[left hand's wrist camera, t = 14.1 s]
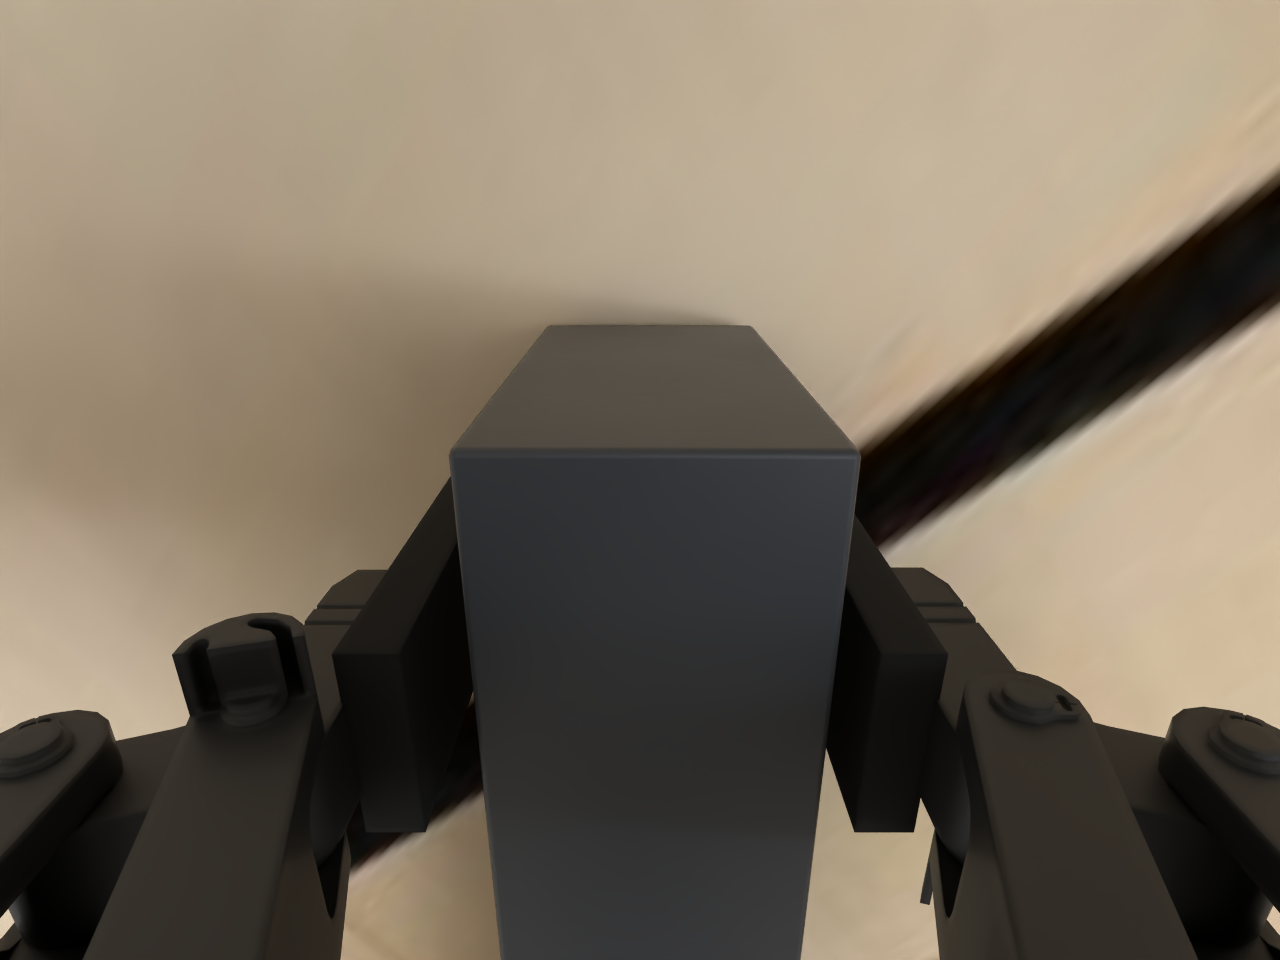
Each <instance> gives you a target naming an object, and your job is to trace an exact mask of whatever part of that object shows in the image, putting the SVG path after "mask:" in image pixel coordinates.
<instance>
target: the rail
mask: <svg viewBox="0 0 1280 960" xmlns="http://www.w3.org/2000/svg"><path fill="white" fill-rule="evenodd" d="M449 460H450V470H451V480H452V489H453V499H454V509H455V518H456V528H457V538H458V548H459V557H460V567H461V577H462V586H463V596H464V606H465V615H466V625H467V635H468V644H469V654H470V664H471V673H472V683H473V693H474V703H475V712H476V722H477V732H478V741H479V751H480V761H481V770H482V780H483V790H484V799H485V809H486V819H487V829H488V838H489V848H490V858H491V867H492V877H493V887H494V896H495V906H496V916H497V925H498V935H499V945H500V955H501V960H800V959H801V951H802V942H803V934H804V926H805V917H806V909H807V901H808V892H809V884H810V876H811V867H812V859H813V851H814V842H815V834H816V826H817V818H818V809H819V801H820V793H821V784H822V776H823V768H824V759H825V751H826V743H827V734H828V726H829V718H830V709H831V701H832V693H833V685H834V676H835V668H836V660H837V651H838V643H839V635H840V626H841V618H842V610H843V601H844V593H845V585H846V576H847V568H848V560H849V552H850V543H851V535H852V527H853V518H854V510H855V502H856V493H857V485H858V477H859V468H860V460H861V456H860V452H859V450H858V449H857V448H856V447H855V445H854V444H853V443H852V442H851V441H850V440H849V439H848V437H847V436H846V435H845V434H844V433H843V432H842V430H841V429H840V428H839V427H838V426H837V425H836V424H835V422H834V421H833V420H832V419H831V418H830V417H829V415H828V414H827V413H826V412H825V411H824V410H823V408H822V407H821V406H820V405H819V404H818V403H817V402H816V400H815V399H814V398H813V397H812V396H811V395H810V393H809V392H808V391H807V390H806V389H805V388H804V387H803V385H802V384H801V383H800V382H799V381H798V380H797V378H796V377H795V376H794V375H793V374H792V373H791V371H790V370H789V369H788V368H787V367H786V366H785V365H784V363H783V362H782V361H781V360H780V359H779V358H778V356H777V355H776V354H775V353H774V352H773V351H772V350H771V348H770V347H769V346H768V345H767V344H766V343H765V341H764V340H763V339H762V338H761V337H760V336H759V334H758V333H757V332H756V331H755V330H754V329H753V328H752V327H751V326H587V325H551V326H548V327H547V328H546V329H545V331H544V332H543V333H542V334H541V336H540V337H539V338H538V339H537V341H536V342H535V343H534V345H533V346H532V347H531V348H530V350H529V351H528V352H527V354H526V355H525V356H524V357H523V359H522V360H521V361H520V362H519V364H518V365H517V366H516V368H515V369H514V370H513V371H512V373H511V374H510V375H509V376H508V378H507V379H506V380H505V382H504V383H503V384H502V385H501V387H500V388H499V389H498V390H497V392H496V393H495V394H494V396H493V397H492V398H491V399H490V401H489V402H488V403H487V405H486V406H485V407H484V408H483V410H482V411H481V412H480V413H479V415H478V416H477V417H476V419H475V420H474V421H473V422H472V424H471V425H470V426H469V427H468V429H467V430H466V431H465V433H464V434H463V435H462V436H461V438H460V439H459V440H458V441H457V443H456V444H455V445H454V447H453V448H452V449H451V451H450V454H449Z"/></svg>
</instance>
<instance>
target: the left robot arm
mask: <svg viewBox="0 0 1280 960" xmlns="http://www.w3.org/2000/svg"><path fill="white" fill-rule="evenodd" d="M172 657H173V660H174V663H175V667H176V670H177V674H178V677H179V680H180V684H181V687H182V690H183V694H184V697H185V701H186V704H187V707H188V711H189V714H190V717H189V720H188V722H187V724H186V726H183V727H179V728H175V729H171V730H167V731H162V732H157V733H152V734H147V735H143V736H138V737H133V738H128V739H123V740H119V741H116V740H115V737H114V735H113V732H112V729H111V726H110V723H109V720H107V719H106V718H105V717H103V716H102V715H100V714H99V713H98V712H91V711H83V710H73V711H66V712H59V713H52V714H48V715H43V716H39V717H38V718H36V719H35V718H33V719H30V720H27V721H25V722H22V723H20V724H18V725H16V726H15V727H13V728H11V729H9V730H7V731H4V732H2V733H0V918H1V917H2V915H3V914H4V913H5V912H6V911H7V910H8V909H9V911H10V913H11V915H12V917H13V919H14V922H15V923H14V924H13V925H12V926H11V927H10V929H9V930H8V931H7V932H6V934H5V935H4V936H3V937H2V938H1V939H0V960H340V958H341V948H342V939H343V929H344V920H345V910H346V900H347V891H348V881H349V872H350V862H351V857H350V850H349V844H348V839H347V834H346V829H347V826H348V824H349V822H350V820H351V818H352V816H353V814H354V811H355V809H356V807H357V805H358V803H359V801H360V803H361V808H362V813H363V818H364V824H365V829H366V832H426V829H427V826H428V823H429V820H430V817H431V814H432V811H433V808H434V805H435V802H436V799H437V796H438V793H439V790H440V787H441V784H442V782H443V779H444V776H445V773H446V770H447V767H448V764H449V761H450V758H451V755H452V752H453V749H454V746H455V743H456V740H457V737H458V734H459V731H460V728H461V725H462V722H463V719H464V716H465V713H466V710H467V707H468V704H469V701H470V698H471V695H472V692H473V683H472V673H471V664H470V654H469V644H468V635H467V625H466V615H465V606H464V596H463V586H462V577H461V567H460V557H459V548H458V538H457V528H456V518H455V509H454V499H453V489H452V480H451V477H450V478H449V480H448V481H447V483H446V484H445V486H444V487H443V488H442V490H441V491H440V493H439V494H438V496H437V497H436V499H435V500H434V502H433V503H432V505H431V506H430V508H429V509H428V511H427V512H426V514H425V515H424V517H423V518H422V520H421V521H420V523H419V524H418V526H417V527H416V529H415V530H414V532H413V533H412V535H411V536H410V538H409V539H408V541H407V542H406V544H405V545H404V547H403V548H402V550H401V551H400V553H399V554H398V556H397V557H396V559H395V560H394V562H393V563H392V565H391V566H390V568H389V569H388V570H357V571H355V572H354V573H352V574H351V575H349V576H347V577H346V578H344V579H343V580H341V581H340V582H338V583H337V584H335V585H333V586H332V587H331V588H330V590H329V591H328V592H327V594H326V595H325V596H324V597H323V599H322V600H321V601H320V602H319V604H318V605H317V609H314V610H313V611H312V613H311V614H310V615H309V617H308V618H307V619H306V620H305V625H303V624H302V623H301V622H299V621H298V620H297V619H295V618H294V617H293V616H289V615H284V614H279V613H252V614H248V615H243V616H239V617H234V618H230V619H226V620H224V621H221V622H219V623H216V624H214V625H211V626H209V627H206V628H204V629H202V630H201V631H199V632H198V633H196V634H194V635H193V636H191V637H190V638H188V639H187V640H185V641H184V642H183V643H182V644H181V645H180V646H179V647H178V649H177V650H176V651H175V652H174V653H173V654H172ZM826 749H827V752H828V755H829V758H830V761H831V764H832V767H833V770H834V773H835V776H836V779H837V782H838V785H839V788H840V790H841V793H842V796H843V799H844V802H845V805H846V808H847V811H848V814H849V817H850V820H851V823H852V826H853V829H854V832H914V829H915V824H916V818H917V813H918V808H919V803H920V798H921V799H922V801H923V803H924V806H925V808H926V810H927V812H928V814H929V816H930V819H931V821H932V823H933V825H934V827H935V830H934V834H933V839H932V844H931V849H930V854H929V858H928V863H927V868H926V873H925V878H924V882H923V887H922V893H921V899H920V903H923V904H928V905H930V900H931V896H932V891H933V899H934V908H935V918H936V927H937V937H938V946H939V956H940V960H1280V935H1279V934H1278V933H1277V932H1276V930H1275V929H1274V928H1273V927H1272V926H1271V924H1270V923H1269V922H1268V921H1267V920H1266V919H1267V917H1268V915H1269V913H1270V911H1271V909H1272V907H1273V905H1274V907H1275V908H1276V909H1277V910H1278V911H1279V912H1280V730H1279V729H1277V728H1275V727H1273V726H1271V725H1269V724H1267V723H1265V722H1264V721H1262V720H1260V719H1257V718H1255V717H1252V716H1249V715H1243V713H1239V712H1234V711H1230V710H1223V709H1216V708H1209V707H1197V708H1189V709H1183V710H1182V711H1180V712H1179V713H1178V714H1176V715H1175V716H1174V717H1172V720H1171V723H1170V726H1169V729H1168V732H1167V735H1166V737H1165V738H1162V737H1157V736H1152V735H1148V734H1143V733H1138V732H1133V731H1128V730H1123V729H1119V728H1114V727H1109V726H1105V725H1102V724H1098V723H1094V722H1093V721H1092V718H1091V716H1090V715H1089V713H1088V712H1087V710H1086V709H1085V708H1084V706H1083V705H1082V704H1081V702H1080V701H1079V700H1078V699H1077V698H1075V697H1074V696H1072V695H1071V694H1070V693H1068V692H1067V691H1066V690H1064V689H1063V688H1062V687H1060V686H1058V685H1056V684H1054V683H1052V682H1049V681H1047V680H1045V679H1043V678H1041V677H1039V676H1035V675H1031V674H1027V673H1023V672H1019V671H1017V670H1016V669H1015V668H1014V667H1013V665H1012V664H1011V663H1010V662H1009V660H1008V659H1007V658H1006V656H1005V655H1004V654H1003V653H1002V651H1001V650H1000V649H999V648H998V646H997V645H996V644H995V643H994V641H993V640H992V639H991V637H990V636H989V635H988V634H987V632H986V631H985V630H984V629H983V627H982V626H981V625H980V624H979V623H976V619H975V617H974V616H973V615H972V613H971V612H970V611H969V610H968V608H967V607H963V602H962V601H961V600H960V598H959V597H958V596H957V594H956V593H955V592H954V591H953V589H952V588H951V587H950V586H949V584H948V583H946V582H944V581H943V580H941V579H940V578H938V577H936V576H935V575H933V574H932V573H930V572H929V571H927V570H925V569H924V568H890V566H889V565H888V563H887V562H886V560H885V559H884V557H883V556H882V554H881V553H880V551H879V550H878V548H877V547H876V545H875V544H874V542H873V541H872V539H871V538H870V536H869V535H868V533H867V532H866V530H865V529H864V527H863V526H862V524H861V523H860V521H859V520H858V518H857V517H856V515H855V514H854V518H853V527H852V535H851V543H850V552H849V560H848V568H847V576H846V585H845V593H844V601H843V610H842V618H841V626H840V635H839V643H838V651H837V660H836V668H835V676H834V685H833V693H832V701H831V709H830V718H829V726H828V734H827V743H826Z"/></svg>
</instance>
